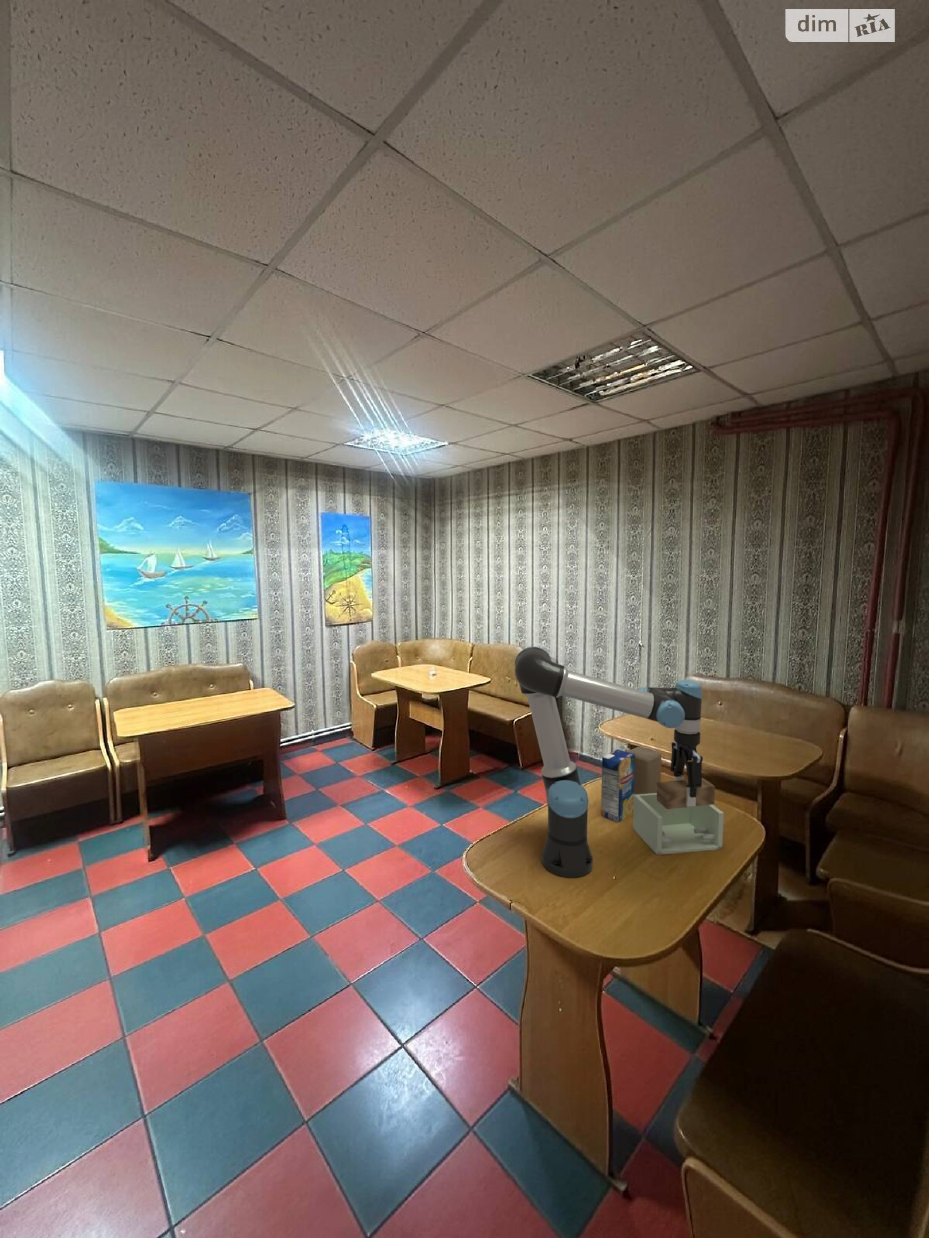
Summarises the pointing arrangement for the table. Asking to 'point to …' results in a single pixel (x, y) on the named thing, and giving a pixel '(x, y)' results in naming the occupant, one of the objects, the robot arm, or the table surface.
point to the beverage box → (617, 785)
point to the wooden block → (646, 770)
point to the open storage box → (677, 826)
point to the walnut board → (683, 794)
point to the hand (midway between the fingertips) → (684, 800)
